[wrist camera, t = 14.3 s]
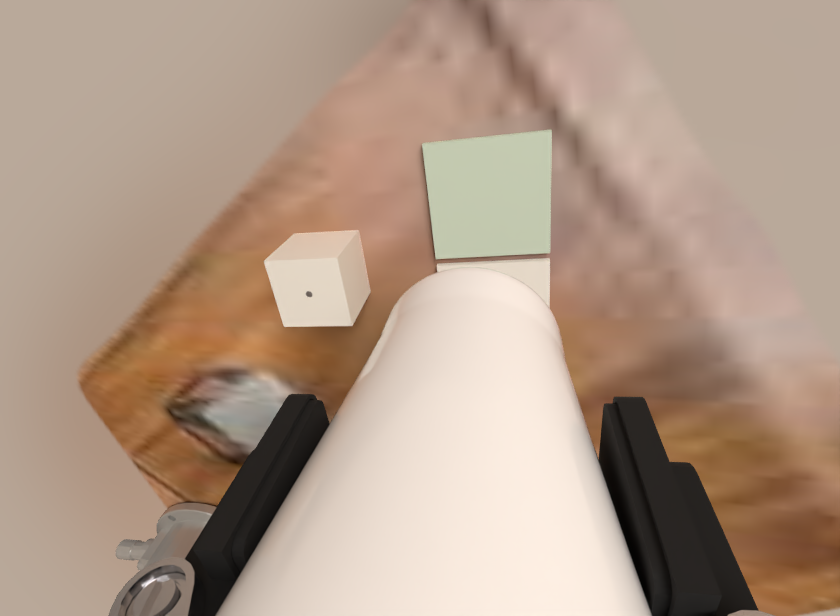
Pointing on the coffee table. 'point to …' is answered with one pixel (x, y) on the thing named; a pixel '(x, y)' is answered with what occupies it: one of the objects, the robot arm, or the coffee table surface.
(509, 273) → the squares
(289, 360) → the coffee table surface
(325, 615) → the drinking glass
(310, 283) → the die
